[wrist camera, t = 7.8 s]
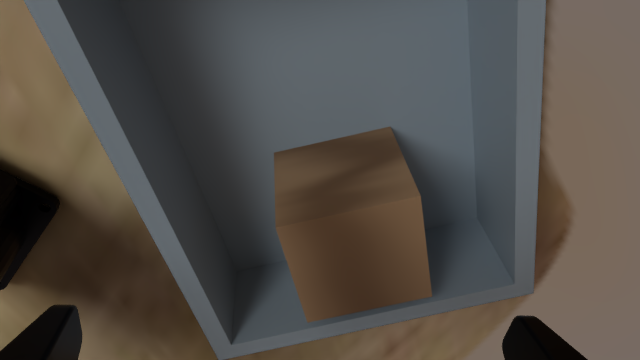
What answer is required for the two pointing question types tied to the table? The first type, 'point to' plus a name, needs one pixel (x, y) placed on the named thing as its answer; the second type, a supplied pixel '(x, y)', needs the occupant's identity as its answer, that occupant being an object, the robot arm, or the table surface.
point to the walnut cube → (351, 225)
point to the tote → (311, 137)
